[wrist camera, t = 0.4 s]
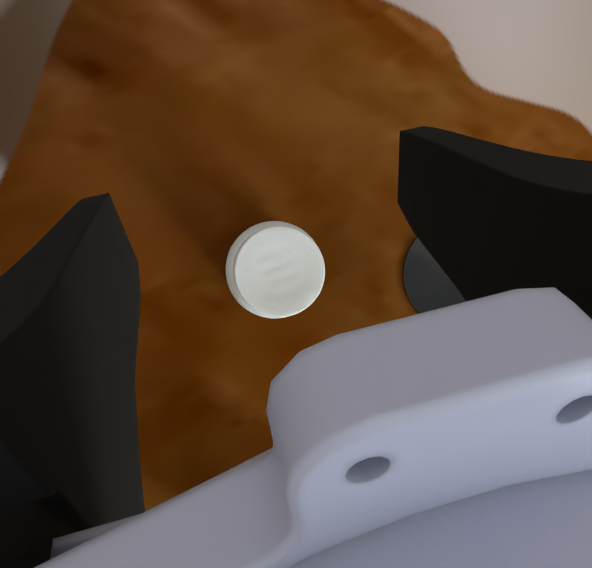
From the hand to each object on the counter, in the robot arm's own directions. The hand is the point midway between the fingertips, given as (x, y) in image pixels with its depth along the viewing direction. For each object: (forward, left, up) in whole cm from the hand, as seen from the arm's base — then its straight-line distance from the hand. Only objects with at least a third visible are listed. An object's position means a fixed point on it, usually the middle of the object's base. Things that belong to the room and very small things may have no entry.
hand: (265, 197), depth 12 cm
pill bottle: (-2, -1, -26) cm, 26 cm away
